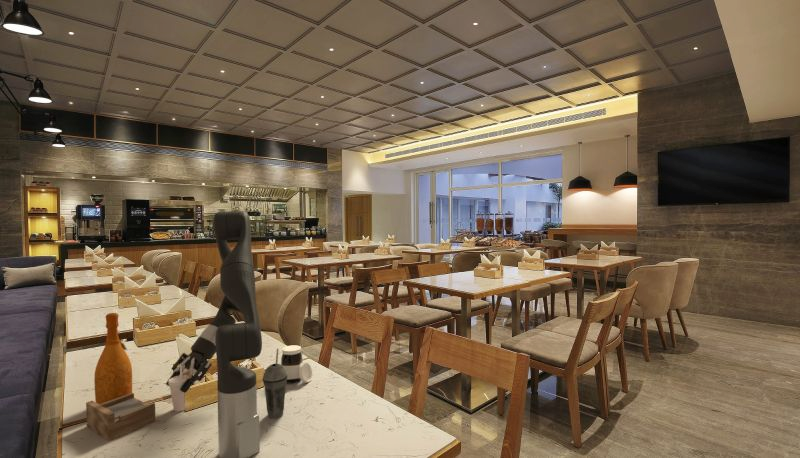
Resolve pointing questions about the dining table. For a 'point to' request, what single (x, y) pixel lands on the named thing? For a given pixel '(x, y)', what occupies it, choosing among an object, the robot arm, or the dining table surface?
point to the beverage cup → (275, 388)
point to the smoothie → (178, 391)
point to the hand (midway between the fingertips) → (175, 388)
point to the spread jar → (295, 365)
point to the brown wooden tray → (119, 416)
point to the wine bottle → (112, 366)
